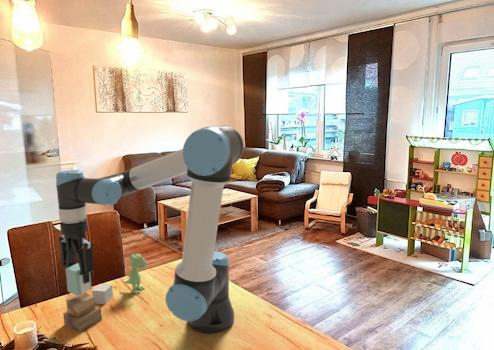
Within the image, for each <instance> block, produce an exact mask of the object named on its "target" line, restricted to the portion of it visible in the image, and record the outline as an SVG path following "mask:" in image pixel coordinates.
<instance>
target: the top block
mask: <svg viewBox="0 0 494 350" xmlns="http://www.w3.org/2000/svg"><path fill="white" fill-rule="evenodd" d="M95 306H96V303H95V297H94V296H92V294H90V293H87V292H85V293H83V294H80V295H75V294H74V295H72V296H71V297H69V298H66V311H67V312H68V313H70V314H72V315H74V316H76V317H78V318H79V317H81V316H83V315H85V314H87V313H89V312H91V311H93V310H95Z"/></svg>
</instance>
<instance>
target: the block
mask: <svg viewBox="0 0 494 350" xmlns="http://www.w3.org/2000/svg"><path fill="white" fill-rule="evenodd" d="M113 293H114V290H113V285H112V284H105V283H99V284H98V285H97V286H95V287H94V288H93V289H92V290H91V295H92V296H94V297H95V304H99V305H107V304H108V303H109V302H110V301H111V300H112V299H113V297H114V294H113Z"/></svg>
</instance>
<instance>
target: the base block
mask: <svg viewBox="0 0 494 350" xmlns="http://www.w3.org/2000/svg"><path fill="white" fill-rule="evenodd" d="M102 316H103V315H102V307H100V306H97V305H95V310H93V311H91V312H89V313H87V314H85V315H83V316H81V317H79V318H78V317H76V316H74V315H72V314H70V313H68V312H67V310H66V311H65V312H63V323H64V325H63V326H65V327H68V328H70V329H72V330H74V331H76V332H79V333H82V332H84V331H86V330H87V329H89V328H90V327H93V325H96V324H97V323H99V322H101V321H102V320H103V319H102Z"/></svg>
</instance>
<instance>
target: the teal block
mask: <svg viewBox="0 0 494 350" xmlns="http://www.w3.org/2000/svg"><path fill="white" fill-rule="evenodd" d="M79 273H81V271H80V267H79V263H75V265H72V266H70V267H67V268H66V267H65V277H66V287H67V288H66V289H67V292H68V293H70V294H72V295H74V296H75V295H80V294H82V293H81V289H80V277H79ZM89 279H90V281H89V286H90V290H91V289H92V278H91V272H89ZM92 290H93V289H92Z"/></svg>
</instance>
